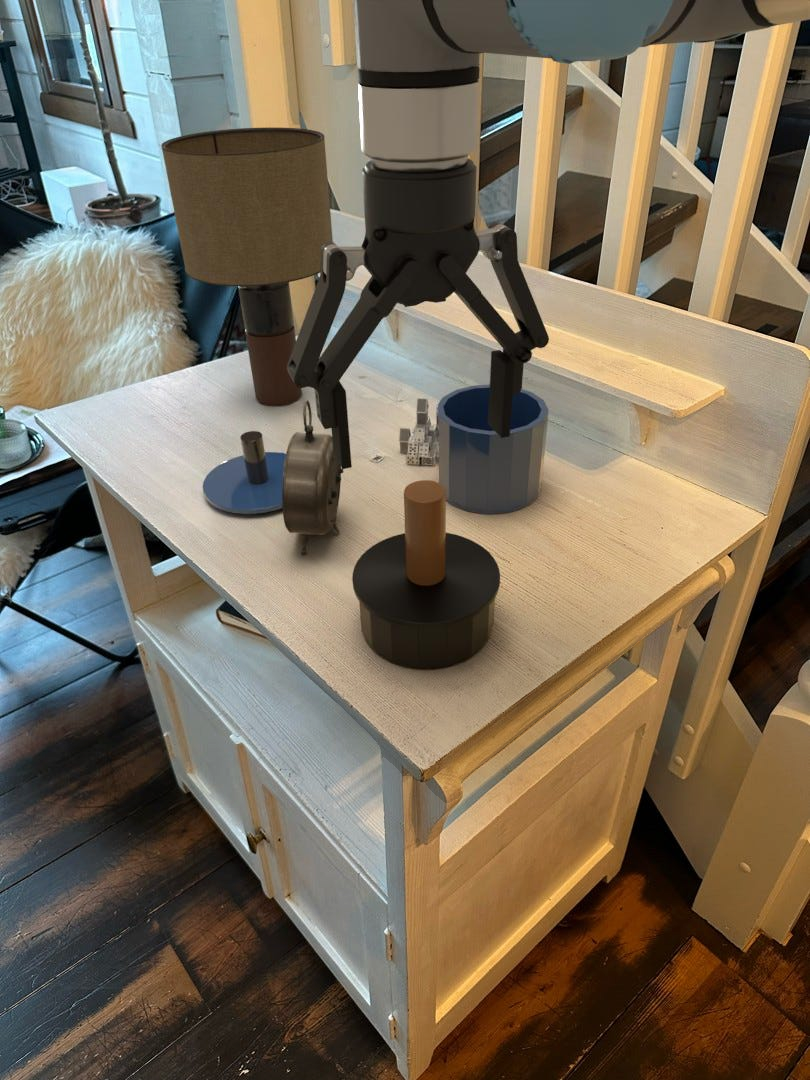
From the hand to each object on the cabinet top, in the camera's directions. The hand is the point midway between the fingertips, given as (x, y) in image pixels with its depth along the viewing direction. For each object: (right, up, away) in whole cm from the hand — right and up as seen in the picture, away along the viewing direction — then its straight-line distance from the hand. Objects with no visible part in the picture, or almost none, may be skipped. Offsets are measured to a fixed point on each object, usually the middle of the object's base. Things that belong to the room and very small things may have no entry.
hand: (422, 445), depth 62 cm
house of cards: (-1, +4, +39) cm, 40 cm away
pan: (+1, -16, +11) cm, 20 cm away
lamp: (-21, +14, +54) cm, 59 cm away
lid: (+1, -11, +8) cm, 14 cm away
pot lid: (-20, -1, +32) cm, 38 cm away
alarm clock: (-11, -7, +24) cm, 28 cm away
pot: (+9, -1, +31) cm, 32 cm away
